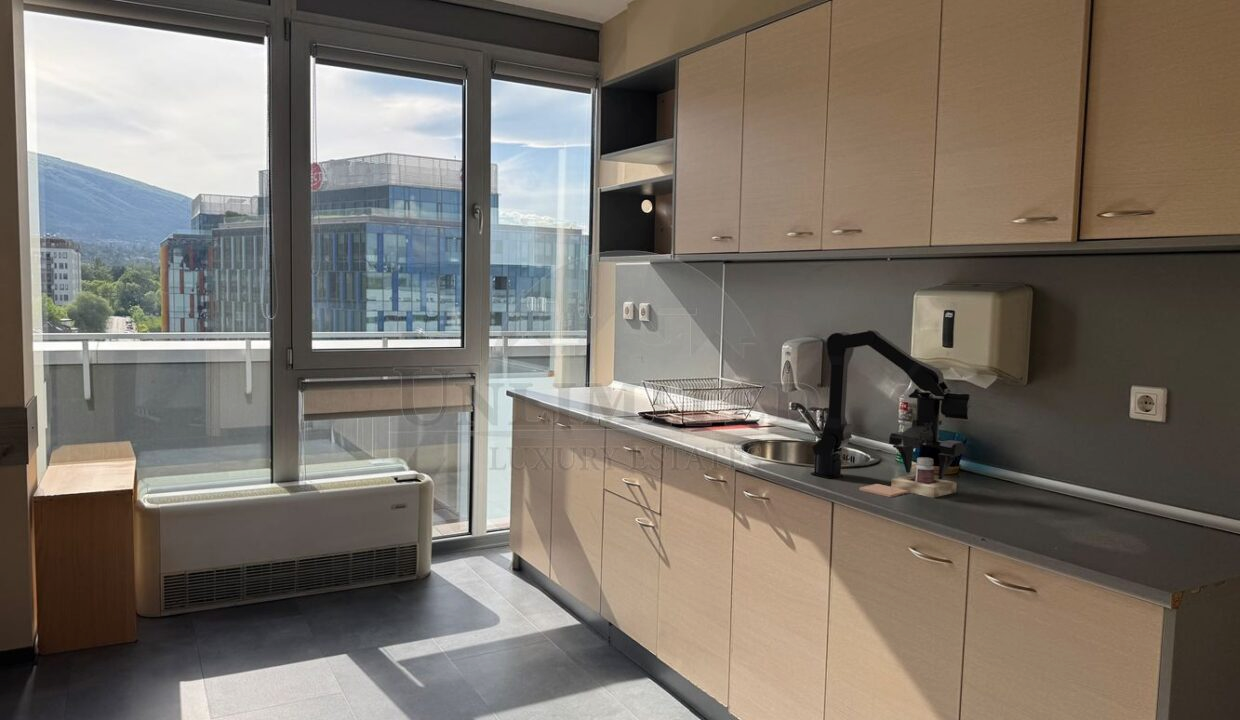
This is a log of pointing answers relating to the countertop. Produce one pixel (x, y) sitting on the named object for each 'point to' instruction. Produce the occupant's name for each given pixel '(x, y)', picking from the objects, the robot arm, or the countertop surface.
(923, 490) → the frame block
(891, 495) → the terracotta tile
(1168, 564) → the countertop surface
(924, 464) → the pill bottle
